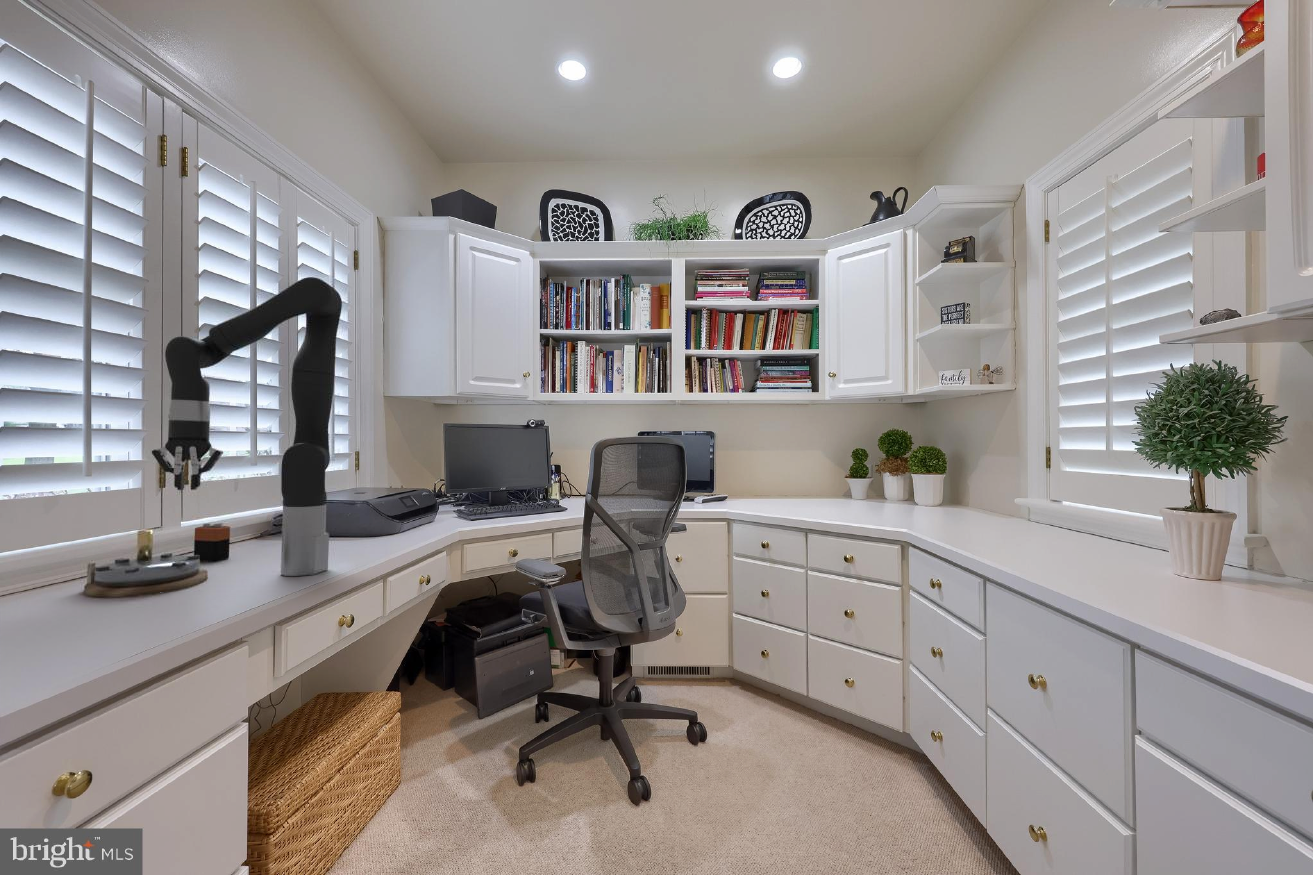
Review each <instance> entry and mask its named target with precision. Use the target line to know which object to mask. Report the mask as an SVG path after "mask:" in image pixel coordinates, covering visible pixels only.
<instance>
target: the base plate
mask: <svg viewBox="0 0 1313 875" xmlns="http://www.w3.org/2000/svg"><path fill="white" fill-rule="evenodd" d="M95 567H96V562H89V563H87V569H86V571H87V573H86V574H87V575H86V584H85V585H84V588H83V595H85V596H86V597H89V598H97V599H98V598H99V599H112V598H114V599H115V598H116V599H117V597H120V598H133V597H139V596H140V595H143V596H150V595H149V594H151V595H156V594H157V593H158V594H161V593H160V592H164V593H168V592H167V591H169V592H173V591H172V590H174V591H179V590H182V589H181V588H184V589H186V588H187V589H188V588H190V587H189V586H191V587H194V586H197V585H200V584H202V583H204V582H206V581H207V580H208V574H209V573H208V570H207V569H204V568H200V569H199V573H198V574H196V575H194V576H191V577H188V578H184V579H180V580H176V581H171V582H165V583H159V584H152V585H144V586H133V587H101V586H97V585H95ZM199 583H200V584H199ZM193 585H194V586H193ZM178 589H179V590H178ZM158 594H157V595H158ZM138 595H139V596H138ZM140 597H141V596H140Z"/></svg>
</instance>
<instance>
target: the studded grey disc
mask: <svg viewBox="0 0 1313 875" xmlns="http://www.w3.org/2000/svg"><path fill="white" fill-rule="evenodd" d="M136 541H137V543H136V558H134V559H133V558H132V559H130V558H118V559H114V562H111V563H106V564H102V565H100V566H95V585H97V586H101V587H133V586H144V585H152V584H159V583H165V582H171V581H176V580H180V579H184V578H188V577H191V576H194V575H196V574H198V573H199V569H201V567H200V562H201V561H200V556H199V555H194V554H193V555H173V553H172V552H171V553H170V552H169V553H163V554H161V555H160V556H153V547H154V546H153V544H154V543H153V541H154V529H141V530H138V531H137V540H136Z"/></svg>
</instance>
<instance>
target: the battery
mask: <svg viewBox="0 0 1313 875" xmlns="http://www.w3.org/2000/svg"><path fill="white" fill-rule="evenodd" d="M230 535H231V527H230V526H229V525H224V523H221V522H219V523H212V524H211V522H210V523H203V524H202V526H198V527H197V526H196V527H195V528H194V541H193V542H194V543H193V544H194V545H193V555H199V556H200V562H211V561H212V562H215V563H216V562H220V561H224V560H228V559H229V558H230V538H231V537H230Z"/></svg>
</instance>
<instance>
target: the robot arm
mask: <svg viewBox="0 0 1313 875" xmlns="http://www.w3.org/2000/svg"><path fill="white" fill-rule="evenodd" d="M342 307H343V301H342V296H341V295H340V293H339V291H337V290H336V289H335V288H334V287H333V286H331V285H330V284H329V283H327V282H326V281H325V280H323V279H321V278H318V277H314V276H307V277H303V278H301V279H300V280H298V281H297V280H296V282H294V283H293V284H291V285H289V286H288V287H286V288H285V289H283V290H282V291H280V292H278V293H277V294H276V295H274V296H272V297H270V298H269V299H267V300H266V301H264V302H262V303H261V304H259V305H256V306H255V307H253V308H251V309H250V310H248V311H245V312H243V313H241V314H238V315H236V316H234V317H231V318H229V319H228V320H227V319H226V320H224V321H222V322H220V323H217V324H216V325H214V326H213V327H211V328H209V331H208V335H207V336H206V337H204V338H201V339H196V338H193V337H190V336H183V335H180V336H175V337H173V338H171V339H170V340H169V342H168V343H167V344H166V347H165V353H164V355H165V356H164V357H165V363H166V368H167V371H168V376H169V378H170V380H171V389H170V391H171V394H170V404H169V409H168V416H167V418H168V429H167V430H168V431H167V432H168V433H167V441H166V443H165V444H164V446H163V447H160V448H158V449H153V450H152V451H151V454H152V455H153V457H154V459H155V460H156V461H157V463H158V464H159V466H160V468H162V470H163V471H164V472H165V473H170V474H173V475H174V478H173V480H174V483H173V485H174V488H176V489H177V491H183V490H185V475H186V474H184V471H185V465H186V461H190V466H191V475H190V490H191V491H196V490H198V488H200V487H201V478H202V474H203V473H207V472H211V470H212V469H213V467H214V466H215V464H217V463H218V462H217V461H219V460H220V458H221V457H222V455H223V454H224V451H223V450H221V449H220V450H219V449H217V448H214V447H213V446H212V444H211V442H210V427H211V425H210V424H211V423H210V422H211V408H210V393H211V392H210V388H211V387H210V382H209V381H208V379H206V378H204V377H203V374H202V371H201V369H206V368H210V367H213V366H215V365H217V364H219V363H220V362H222V361H223V360H224V359H226V358H227V357H229V356H230V355H232V354H233V353H234V352H236V351H238V350H241V349H243V348H245V347H247V346H249V345H252V344H254V343H256V342H258V341H260V340H262V339H263V338H265V337H266V336H267V335H269V334H270V333H271V332H272V331H273V330H274V329H276V328H277V327H278V326H279V325H282V323H284V322H286V321H288V320H290V319H292V318H295V317H298V316H299V317H300V316H302V315H304V314H305V332H304V333H305V334H304V339H303V341H302V343H301V345H300V348H299V349H298V351H297V353H296V355H295V358H294V361H293V363H292V369H291V371H292V372H291V373H292V374H291V383H290V384H291V385H290V387H291V388H290V389H291V392H290V393H291V400H292V405H293V412H294V416H295V431H294V436H293V437H294V438H293V444H292V445H291V446H290V447H288V448H287V449H286V450H285V452H284V454H283V455H282V459H281V469H280V470H281V474H280V475H281V478H280V481H281V484H280V485H281V491H280V492H281V496H282V522H281V523H282V524H281V525H282V526H281V552H280V553H281V554H280V560H281V561H280V575H281V576H286V577H300V576H308V575H310V576H314V575H317V574H319V573H322V572H325V571H326V570H329V550H330V548H329V546H330V534H329V532H327V531H326V529H327V528H326V524H327V523H326V522H327V500H328V499H327V498H328V497H327V492H326V470H327V469H328V468H329V465H330V463H331V461H330V460H331V454H330V453H331V452H330V442H329V440H330V438H329V427H330V426H329V425H330V424H329V423H330V418H331V413H332V412H331V411H332V406H333V399H334V398H333V396H334V390H335V389H334V388H335V378H336V377H335V375H336V374H335V373H336V371H335V370H336V356H337V352H336V351H337V349H336V346H337V335H338V329H339V324H340V318H341V316H342V315H341V314H342ZM168 452H169V454H170V455H171V456H172V457H173V458H174V460H173V461H174V462H173V464H172V463H171V461H170V460H169V459H168V458H167V456H168ZM208 452H209V454H208V456H209V459H207V461H206V462H205V464H203V466H202V463H203V462H202V458H203V457H204V456H206V455H207V453H208ZM173 465H174V466H173Z"/></svg>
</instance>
